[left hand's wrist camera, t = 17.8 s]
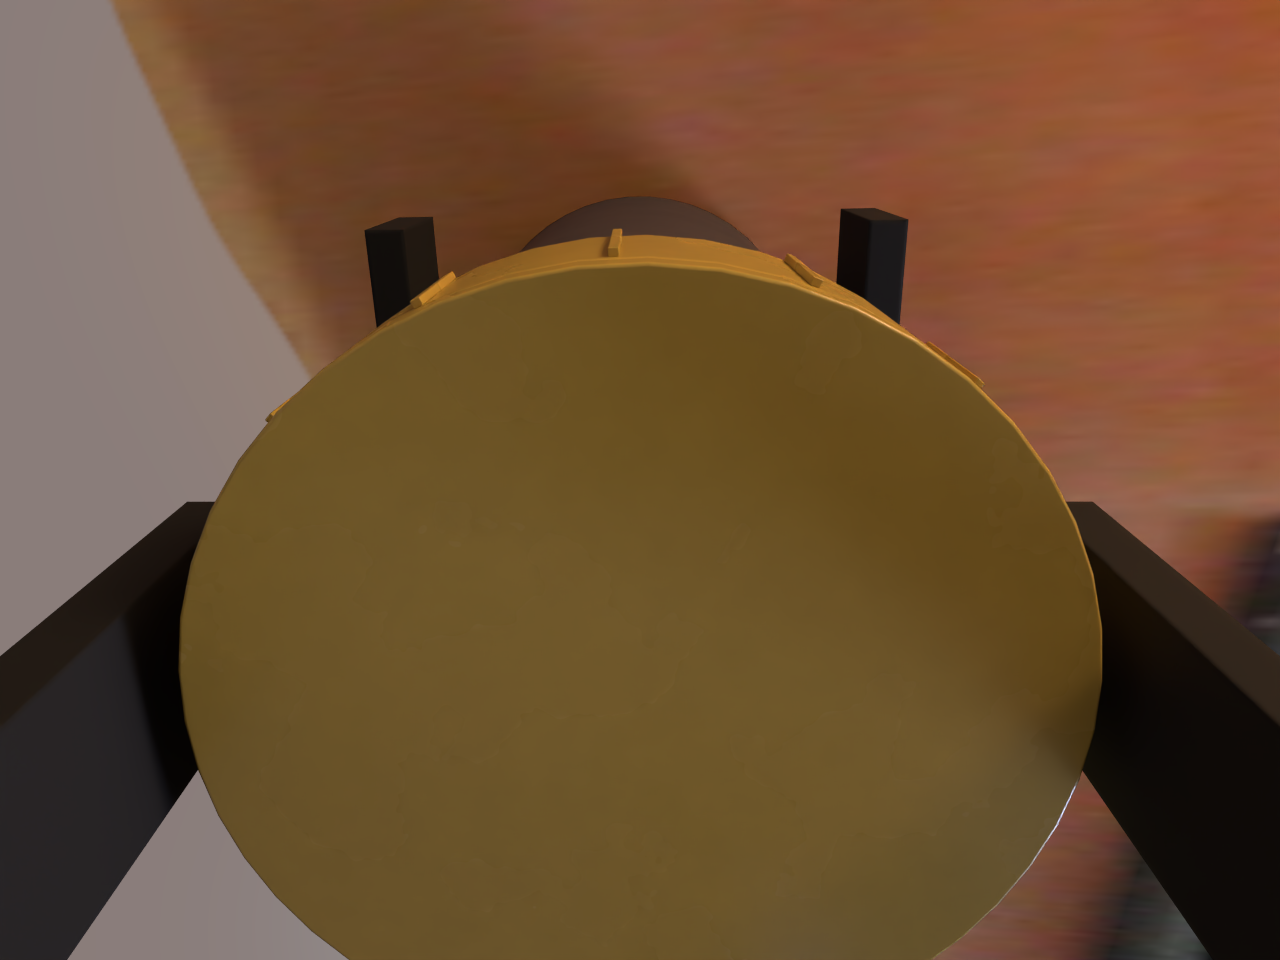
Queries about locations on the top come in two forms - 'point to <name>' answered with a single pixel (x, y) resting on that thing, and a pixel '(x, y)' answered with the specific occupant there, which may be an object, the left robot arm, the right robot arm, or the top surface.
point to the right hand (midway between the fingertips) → (635, 218)
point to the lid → (640, 625)
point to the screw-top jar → (640, 223)
